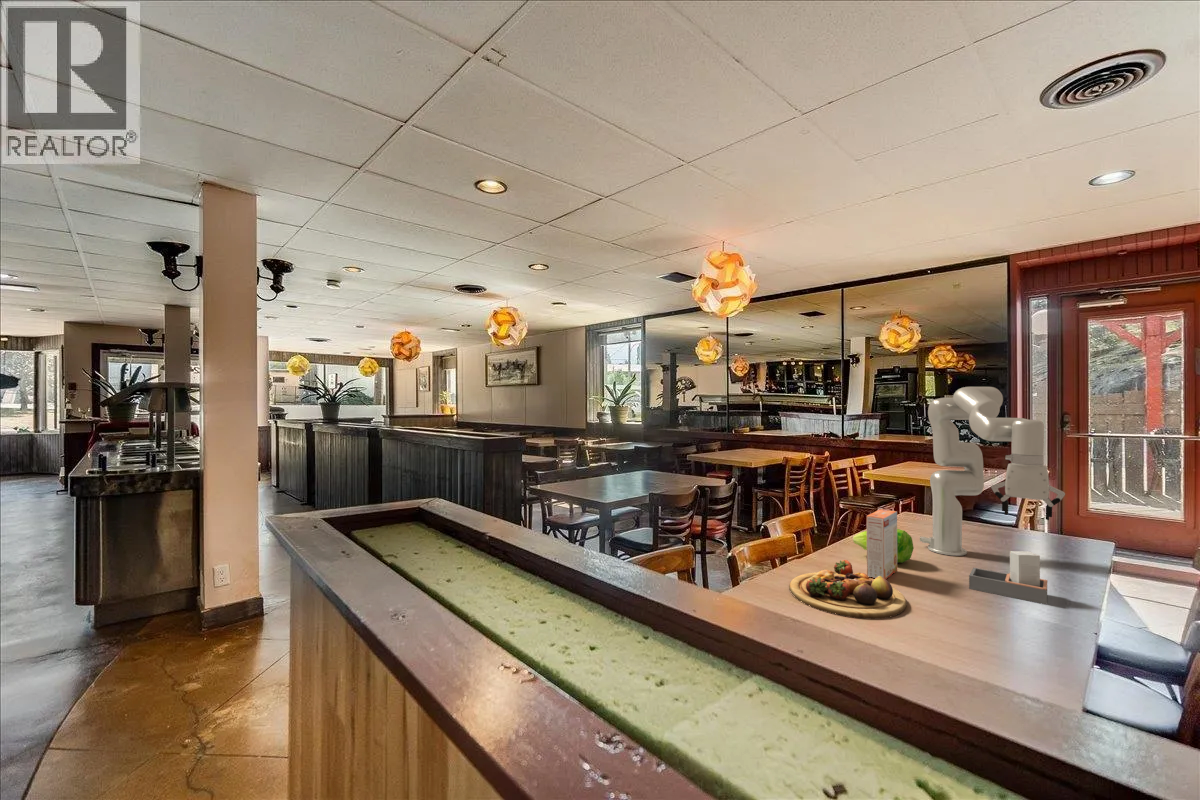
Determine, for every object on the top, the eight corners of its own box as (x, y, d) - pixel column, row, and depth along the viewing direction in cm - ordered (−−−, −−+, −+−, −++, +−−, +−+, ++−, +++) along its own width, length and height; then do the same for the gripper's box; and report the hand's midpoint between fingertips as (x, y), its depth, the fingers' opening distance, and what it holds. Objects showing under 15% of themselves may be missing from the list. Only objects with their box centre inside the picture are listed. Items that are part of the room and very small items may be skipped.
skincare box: (1029, 589, 159) (1030, 551, 159) (1040, 595, 155) (1040, 555, 155) (1008, 589, 160) (1009, 550, 160) (1018, 594, 155) (1019, 554, 155)
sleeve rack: (969, 588, 162) (969, 574, 162) (973, 580, 170) (973, 566, 170) (1046, 604, 150) (1046, 589, 150) (1047, 594, 157) (1047, 580, 157)
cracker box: (879, 567, 182) (879, 508, 182) (898, 571, 178) (898, 511, 178) (865, 577, 172) (865, 514, 172) (884, 581, 168) (885, 517, 168)
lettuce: (859, 549, 203) (859, 519, 203) (918, 561, 189) (918, 528, 189) (847, 557, 193) (847, 525, 193) (908, 570, 179) (909, 535, 179)
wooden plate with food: (807, 571, 179) (807, 548, 178) (914, 593, 158) (914, 566, 158) (773, 602, 154) (773, 574, 154) (895, 632, 134) (895, 600, 133)
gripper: (990, 459, 160) (989, 514, 160) (1065, 464, 148) (1064, 523, 148) (992, 456, 165) (992, 510, 165) (1065, 461, 154) (1064, 519, 154)
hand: (1026, 516), depth 157 cm, fingers open, 9 cm apart
